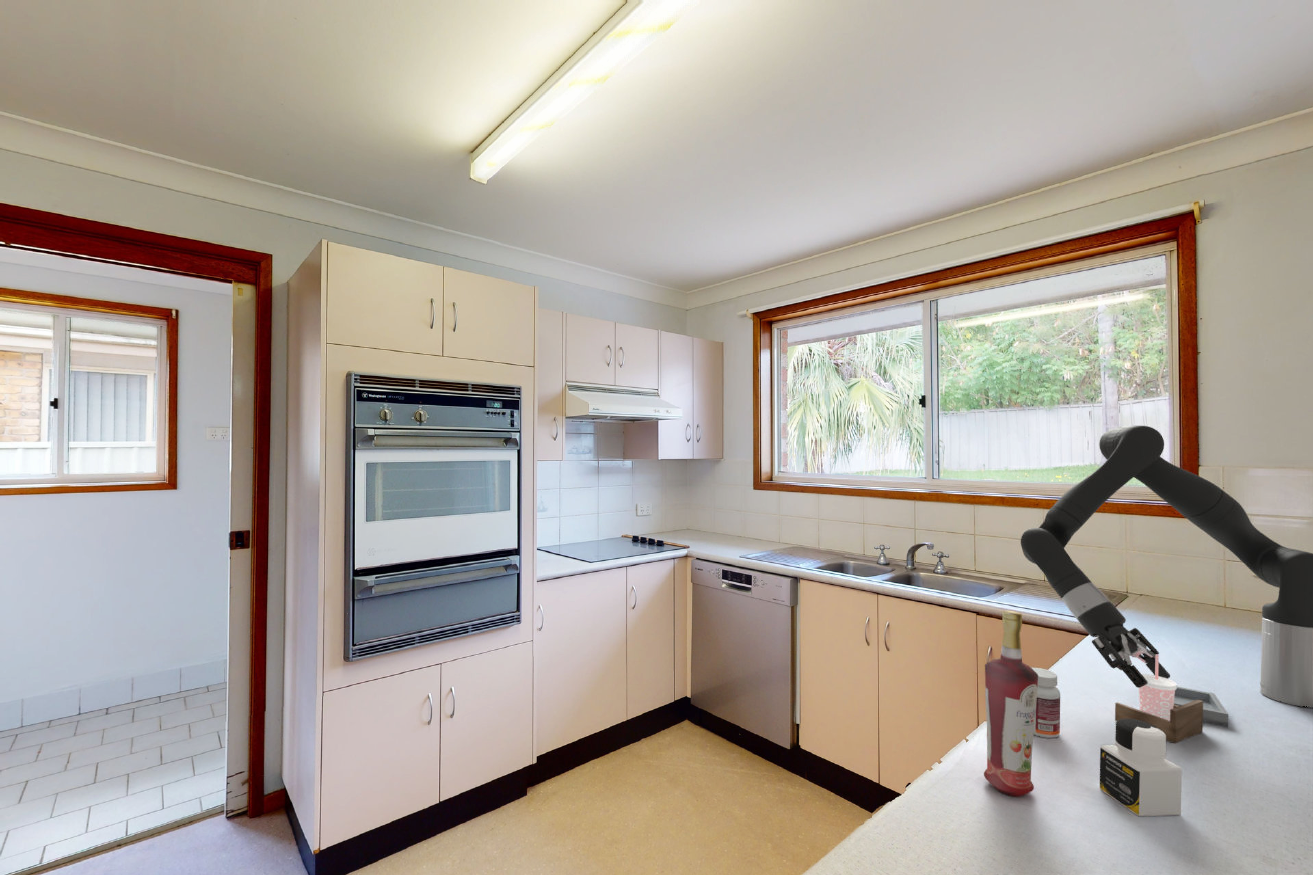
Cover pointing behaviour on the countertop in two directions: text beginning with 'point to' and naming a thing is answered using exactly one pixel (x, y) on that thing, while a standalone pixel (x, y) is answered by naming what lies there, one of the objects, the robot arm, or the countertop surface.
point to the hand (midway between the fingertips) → (1154, 682)
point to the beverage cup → (1157, 694)
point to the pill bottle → (1047, 705)
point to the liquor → (1010, 713)
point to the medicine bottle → (1140, 770)
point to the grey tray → (1211, 705)
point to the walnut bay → (1181, 722)
